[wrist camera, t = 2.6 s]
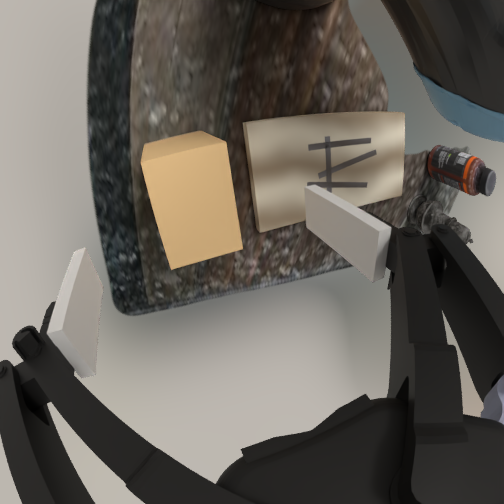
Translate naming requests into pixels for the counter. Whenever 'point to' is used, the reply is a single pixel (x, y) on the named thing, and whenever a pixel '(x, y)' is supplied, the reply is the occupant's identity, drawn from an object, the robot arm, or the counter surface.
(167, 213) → the block
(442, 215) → the grey chess piece
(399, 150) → the birch board
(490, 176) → the supplement bottle
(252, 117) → the counter surface
